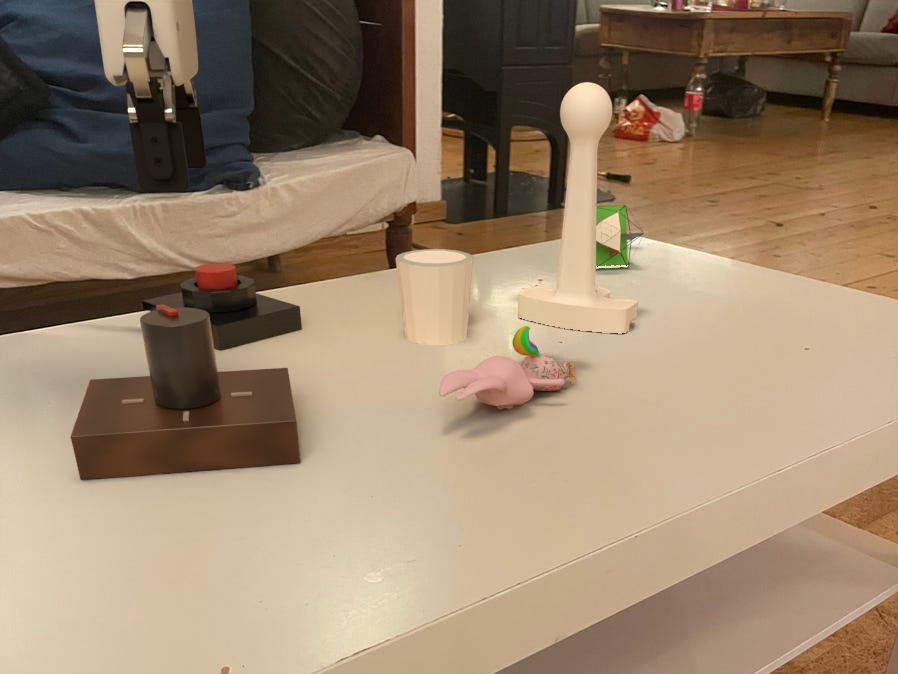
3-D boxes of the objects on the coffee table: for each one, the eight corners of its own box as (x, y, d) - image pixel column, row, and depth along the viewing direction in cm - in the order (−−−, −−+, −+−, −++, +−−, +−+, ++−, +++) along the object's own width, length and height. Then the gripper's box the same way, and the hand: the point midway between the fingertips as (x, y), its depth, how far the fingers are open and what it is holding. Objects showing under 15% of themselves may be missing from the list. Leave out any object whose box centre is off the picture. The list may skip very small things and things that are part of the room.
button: (190, 287, 90) (186, 267, 89) (223, 280, 92) (220, 261, 91) (212, 294, 88) (210, 274, 87) (246, 287, 90) (243, 267, 89)
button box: (145, 324, 93) (138, 280, 90) (226, 306, 98) (220, 264, 96) (220, 351, 86) (214, 304, 84) (302, 330, 91) (298, 285, 89)
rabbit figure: (524, 389, 82) (412, 411, 71) (533, 314, 80) (418, 325, 68) (589, 405, 79) (483, 431, 68) (601, 328, 77) (492, 342, 65)
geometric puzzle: (566, 238, 116) (581, 186, 108) (622, 236, 117) (641, 184, 109) (578, 288, 113) (595, 238, 106) (635, 285, 114) (655, 236, 107)
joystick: (511, 320, 95) (517, 81, 84) (545, 302, 100) (554, 75, 89) (619, 337, 90) (640, 87, 79) (648, 317, 96) (672, 81, 85)
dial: (232, 399, 67) (220, 313, 64) (172, 414, 65) (156, 325, 62) (202, 383, 70) (190, 299, 67) (143, 396, 68) (127, 310, 64)
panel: (80, 480, 63) (69, 433, 62) (98, 419, 72) (89, 377, 71) (300, 463, 66) (296, 417, 64) (291, 406, 75) (287, 365, 73)
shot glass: (441, 352, 86) (440, 269, 82) (382, 338, 89) (379, 257, 86) (488, 334, 91) (489, 254, 87) (431, 321, 94) (429, 244, 90)
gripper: (96, -117, 67) (142, 160, 76) (29, -146, 53) (95, 201, 62) (209, -115, 68) (240, 160, 77) (173, -142, 53) (217, 199, 63)
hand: (176, 178), depth 70 cm, fingers open, 9 cm apart
